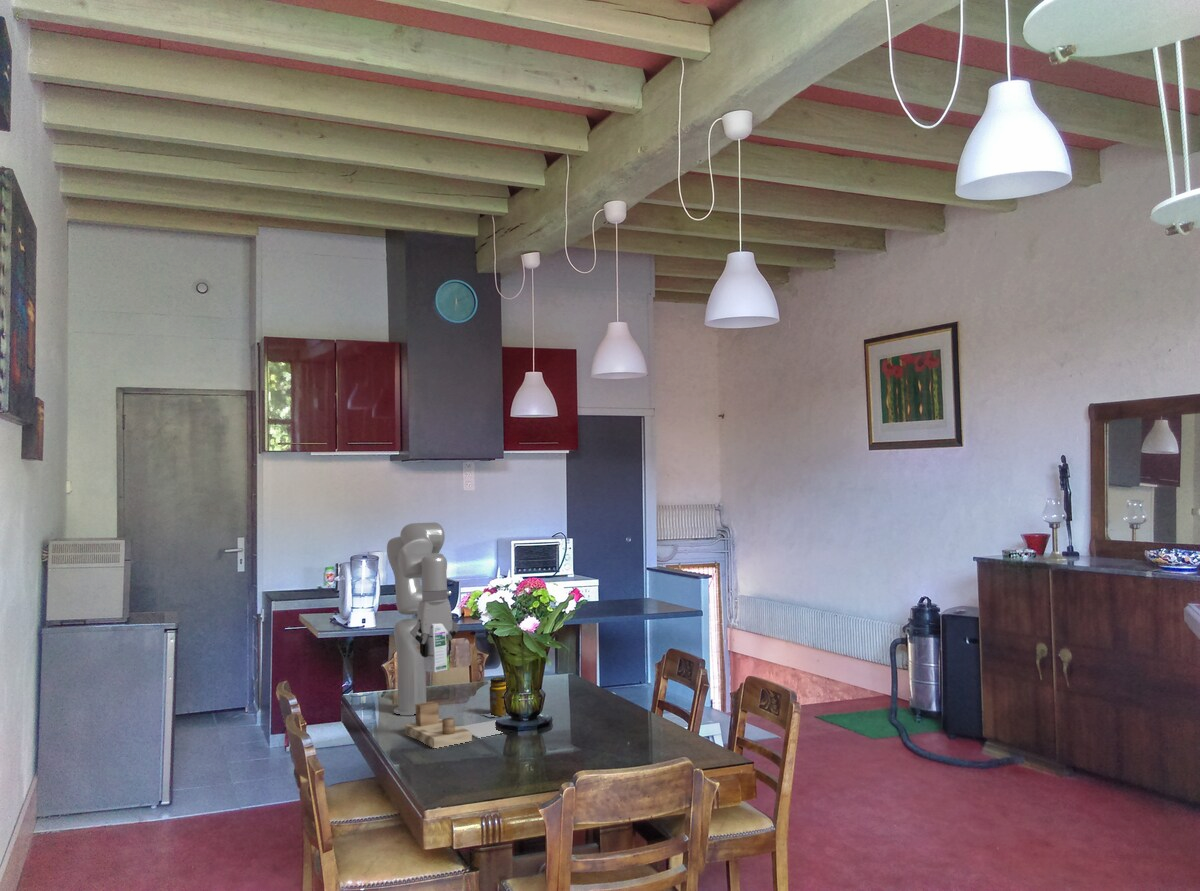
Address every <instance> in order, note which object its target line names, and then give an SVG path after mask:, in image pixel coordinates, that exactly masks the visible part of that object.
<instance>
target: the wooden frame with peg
mask: <svg viewBox="0 0 1200 891" xmlns="http://www.w3.org/2000/svg"><path fill="white" fill-rule="evenodd" d="M439 705H440V704H439V703H438V702H437V701H426V703H420V704H415V712H416V715H415V722H414V723H413V722H412V723H409V724H408V723H407V724H405V725H404V727H405V730H404V731H405V735H406V734H407V735H409V736H411V737H413V738H415V739H417V740H419V741H421V742H423V743H424V745H425V744H426V746H427V745H428V747H429V746H430V747H429V748H431V747H432V749H433V748H437V749H440V748H439V747H442V748H445V747H444V746H447V747H450V746H449V745H453V746H455V745H454V744H458V745H461V744H460V743H463V744H466V743H465V742H469V741H472V742H473V736H472V732H471V731H469V730H467V729H464V728H462V727H460V725H457V724H456V723H455V722H456V721H455V718H453V717H447V718H446V717H445V718H440V712H439V711H440V709H439V707H440V706H439ZM407 735H406V736H407ZM409 736H408V737H409ZM411 737H410V738H411ZM413 738H412V739H413ZM415 739H414V740H415ZM417 740H416V741H417ZM419 741H418V742H419ZM421 742H420V743H421ZM423 743H422V744H423ZM469 743H470V742H469Z"/></svg>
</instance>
